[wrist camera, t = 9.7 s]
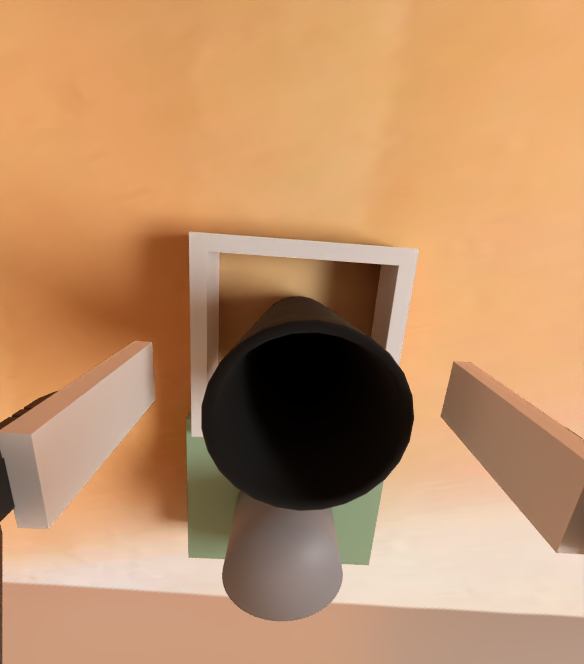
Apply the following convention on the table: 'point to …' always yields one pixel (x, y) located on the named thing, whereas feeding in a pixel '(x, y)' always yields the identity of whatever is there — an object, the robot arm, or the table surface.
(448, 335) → the table surface
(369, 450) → the cup
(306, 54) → the table surface
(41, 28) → the table surface
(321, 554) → the multicoloured boxy piece
